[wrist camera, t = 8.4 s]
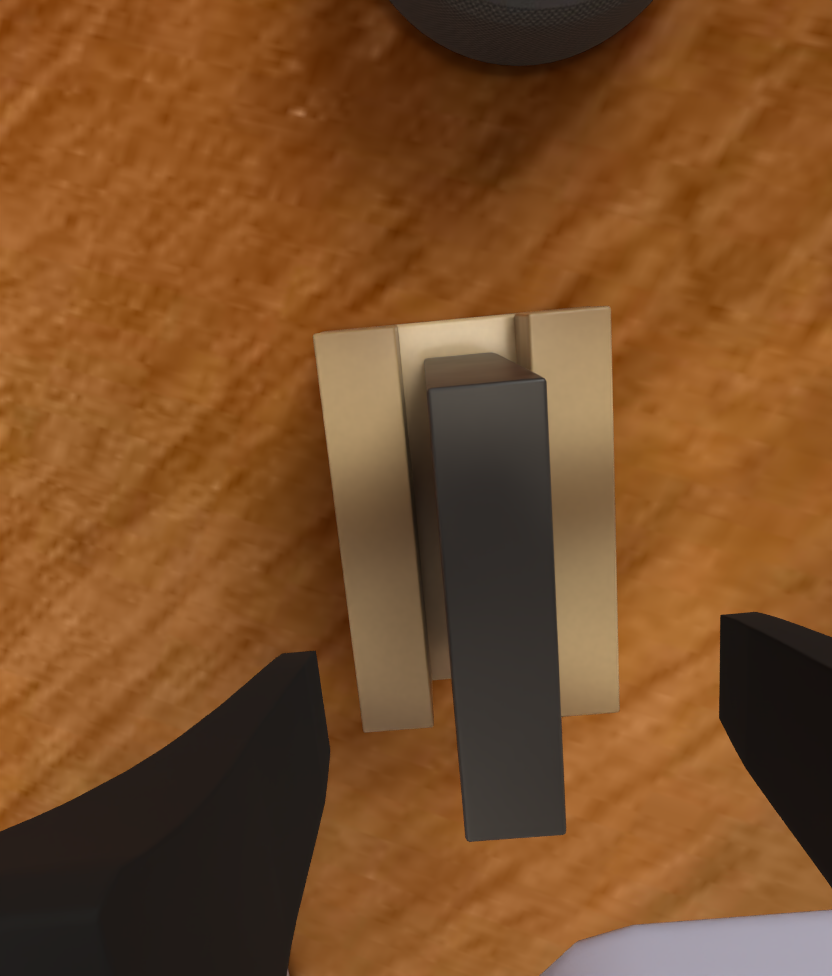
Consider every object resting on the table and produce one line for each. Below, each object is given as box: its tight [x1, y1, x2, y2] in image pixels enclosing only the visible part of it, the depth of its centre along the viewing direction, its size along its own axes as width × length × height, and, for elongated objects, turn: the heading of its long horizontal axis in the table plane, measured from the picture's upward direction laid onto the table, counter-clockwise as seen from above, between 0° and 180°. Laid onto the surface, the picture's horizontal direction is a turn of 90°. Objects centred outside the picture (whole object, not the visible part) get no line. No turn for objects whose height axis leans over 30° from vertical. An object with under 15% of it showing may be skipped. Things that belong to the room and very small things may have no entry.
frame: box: [424, 352, 566, 842], centre depth 16 cm, size 2×9×8 cm, turn 5°
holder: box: [313, 306, 620, 733], centre depth 19 cm, size 11×8×4 cm
